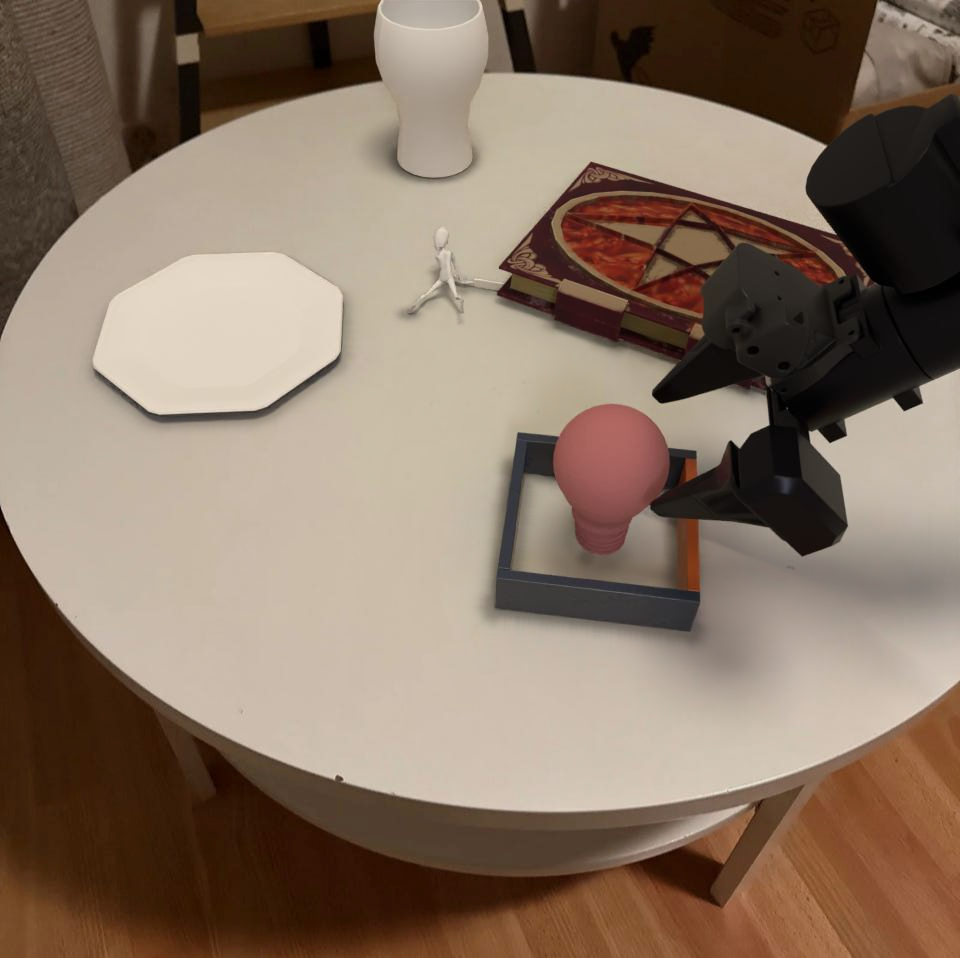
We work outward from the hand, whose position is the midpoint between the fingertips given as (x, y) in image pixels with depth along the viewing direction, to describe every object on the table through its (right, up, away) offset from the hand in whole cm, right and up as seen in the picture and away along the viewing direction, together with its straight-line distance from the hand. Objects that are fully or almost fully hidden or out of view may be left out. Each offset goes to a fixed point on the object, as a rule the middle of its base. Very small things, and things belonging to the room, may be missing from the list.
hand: (654, 451), depth 56 cm
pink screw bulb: (-3, -6, +8) cm, 10 cm away
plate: (-32, +10, +22) cm, 40 cm away
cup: (-15, +31, +39) cm, 52 cm away
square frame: (-3, -6, +8) cm, 10 cm away
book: (+8, +15, +26) cm, 31 cm away
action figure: (-10, +14, +25) cm, 30 cm away
